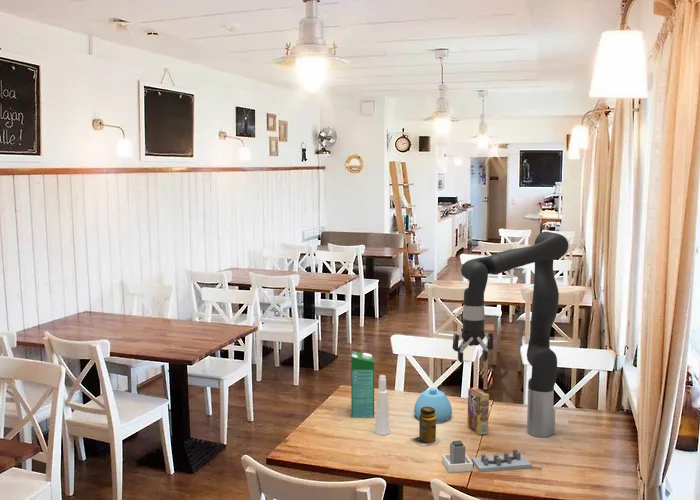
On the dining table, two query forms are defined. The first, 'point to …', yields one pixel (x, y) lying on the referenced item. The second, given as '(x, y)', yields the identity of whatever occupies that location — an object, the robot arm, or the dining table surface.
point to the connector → (457, 452)
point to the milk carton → (362, 384)
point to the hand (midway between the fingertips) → (472, 361)
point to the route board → (501, 462)
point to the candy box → (478, 411)
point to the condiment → (426, 427)
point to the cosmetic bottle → (382, 409)
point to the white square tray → (457, 467)
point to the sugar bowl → (434, 404)
